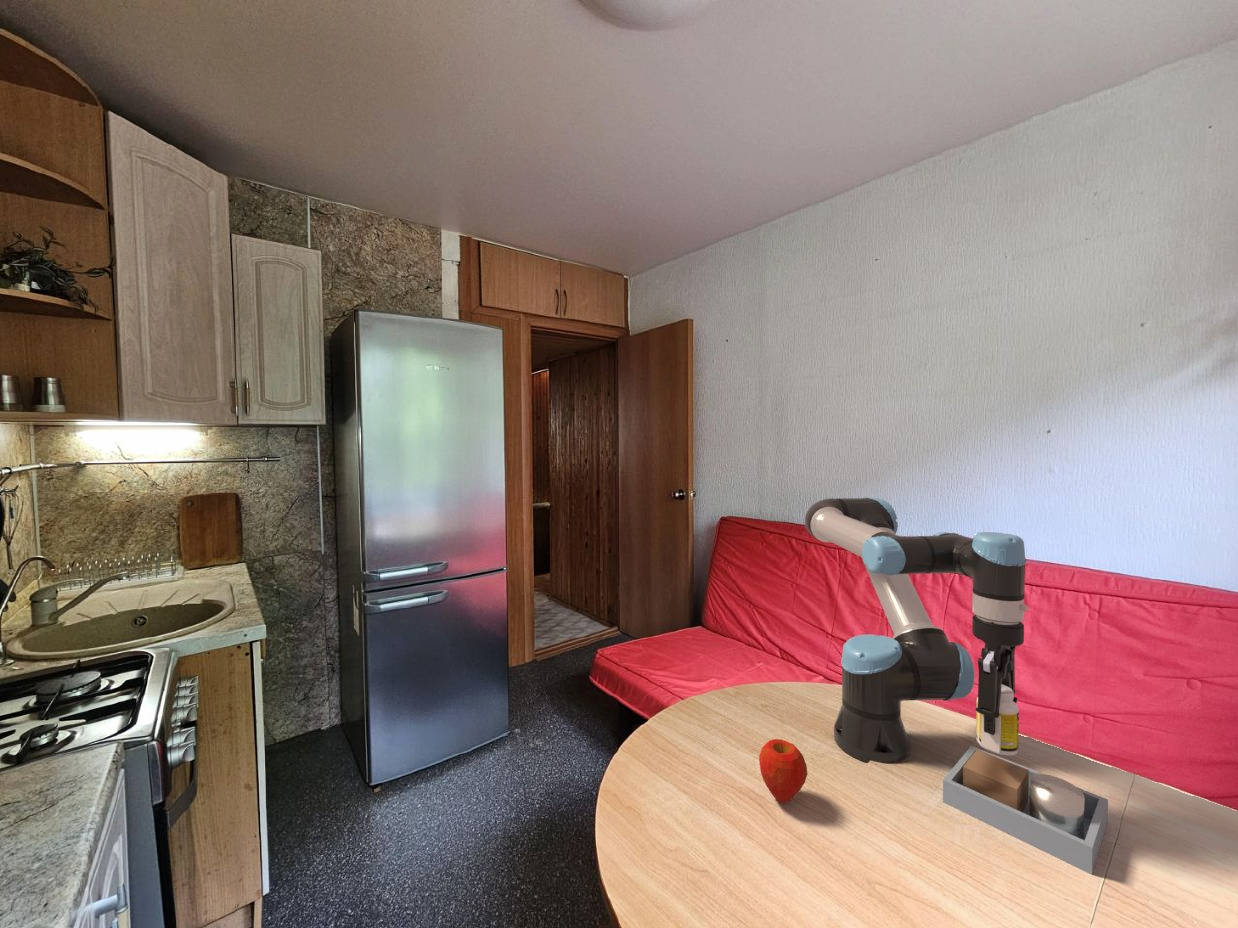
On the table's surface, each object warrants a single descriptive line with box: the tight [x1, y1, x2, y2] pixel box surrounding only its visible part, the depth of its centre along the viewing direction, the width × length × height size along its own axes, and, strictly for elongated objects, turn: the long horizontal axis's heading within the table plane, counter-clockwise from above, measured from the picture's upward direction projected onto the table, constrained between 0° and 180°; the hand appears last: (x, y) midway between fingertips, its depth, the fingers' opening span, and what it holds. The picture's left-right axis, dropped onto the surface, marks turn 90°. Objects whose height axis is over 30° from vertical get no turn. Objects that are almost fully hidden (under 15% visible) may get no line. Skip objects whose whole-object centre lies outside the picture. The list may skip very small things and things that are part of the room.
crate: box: [942, 745, 1109, 875], centre depth 88 cm, size 20×16×5 cm
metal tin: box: [1029, 773, 1085, 840], centre depth 84 cm, size 7×7×7 cm
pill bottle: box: [975, 685, 1020, 756], centre depth 90 cm, size 6×6×11 cm
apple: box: [758, 738, 808, 804], centre depth 93 cm, size 9×8×11 cm
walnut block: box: [963, 750, 1029, 812], centre depth 91 cm, size 8×8×6 cm
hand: (996, 741), depth 90 cm, fingers closed on pill bottle, 6 cm apart
